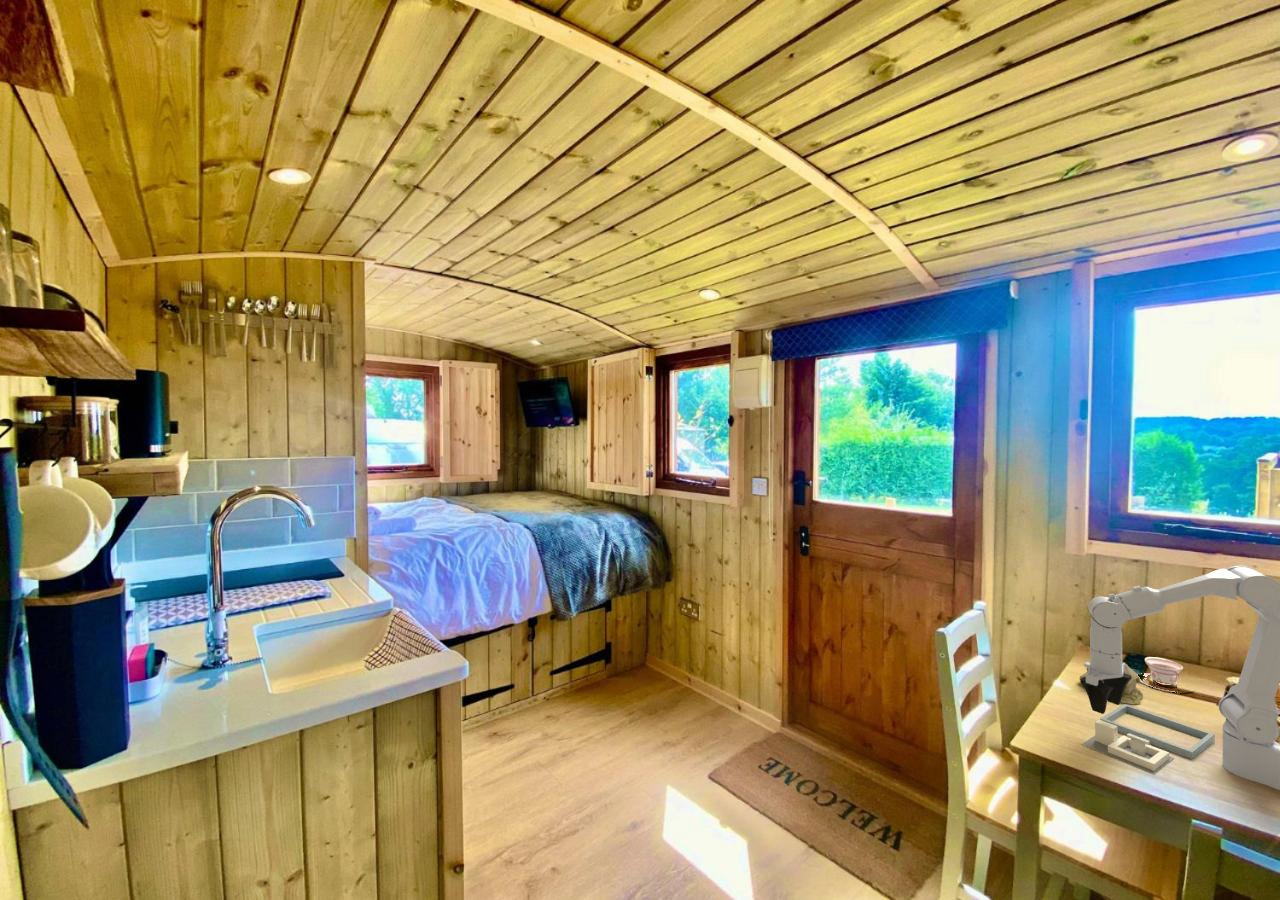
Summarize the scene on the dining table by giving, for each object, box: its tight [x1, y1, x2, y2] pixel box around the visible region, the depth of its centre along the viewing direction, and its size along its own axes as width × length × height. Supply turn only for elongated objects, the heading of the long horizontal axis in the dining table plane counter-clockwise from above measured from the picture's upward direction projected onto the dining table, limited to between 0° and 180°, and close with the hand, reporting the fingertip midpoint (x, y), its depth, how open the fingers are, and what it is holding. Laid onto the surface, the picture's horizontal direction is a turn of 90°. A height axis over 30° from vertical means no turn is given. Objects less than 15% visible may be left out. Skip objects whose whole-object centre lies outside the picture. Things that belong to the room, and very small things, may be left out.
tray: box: [1099, 703, 1216, 760], centre depth 130 cm, size 17×14×2 cm
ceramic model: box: [1079, 663, 1144, 705], centre depth 152 cm, size 14×11×10 cm
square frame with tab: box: [1094, 719, 1170, 771], centre depth 123 cm, size 12×8×4 cm
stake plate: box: [1080, 733, 1175, 775], centre depth 123 cm, size 13×11×5 cm
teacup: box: [1139, 656, 1184, 694], centre depth 155 cm, size 12×12×6 cm
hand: (1106, 707), depth 126 cm, fingers open, 7 cm apart
